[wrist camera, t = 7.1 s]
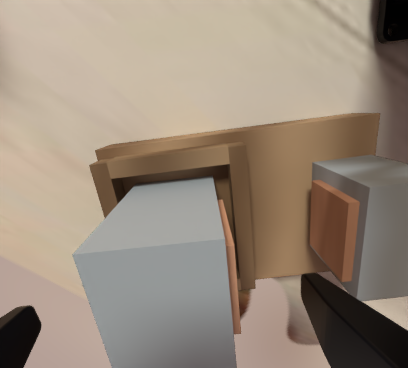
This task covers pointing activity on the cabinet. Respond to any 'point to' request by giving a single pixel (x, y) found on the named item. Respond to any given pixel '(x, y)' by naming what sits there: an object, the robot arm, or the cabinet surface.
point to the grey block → (164, 277)
